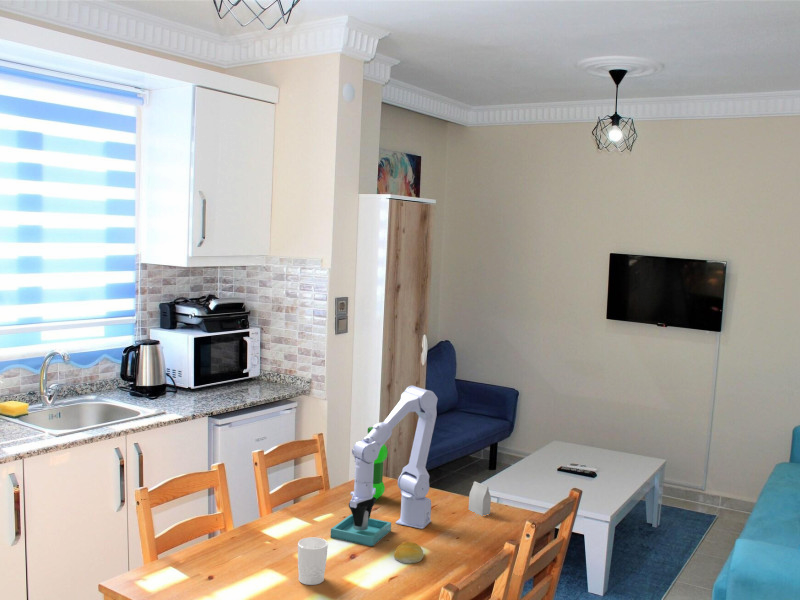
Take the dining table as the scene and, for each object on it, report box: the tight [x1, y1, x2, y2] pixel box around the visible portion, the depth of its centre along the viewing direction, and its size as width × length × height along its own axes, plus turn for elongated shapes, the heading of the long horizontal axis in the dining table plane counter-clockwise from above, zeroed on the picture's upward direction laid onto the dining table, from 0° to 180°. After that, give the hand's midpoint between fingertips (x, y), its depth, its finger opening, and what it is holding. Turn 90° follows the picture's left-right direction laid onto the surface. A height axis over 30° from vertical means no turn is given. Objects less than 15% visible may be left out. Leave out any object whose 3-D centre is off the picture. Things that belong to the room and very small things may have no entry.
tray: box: [330, 513, 392, 547], centre depth 233 cm, size 14×14×3 cm
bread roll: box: [393, 541, 424, 564], centre depth 217 cm, size 8×9×4 cm
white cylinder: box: [353, 510, 369, 531], centre depth 232 cm, size 4×4×5 cm
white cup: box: [297, 536, 329, 586], centre depth 200 cm, size 8×8×10 cm
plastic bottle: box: [367, 426, 389, 501], centre depth 264 cm, size 10×10×25 cm
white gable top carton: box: [468, 481, 492, 517], centre depth 256 cm, size 4×7×10 cm, turn 37°
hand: (361, 523), depth 232 cm, fingers closed on white cylinder, 4 cm apart
